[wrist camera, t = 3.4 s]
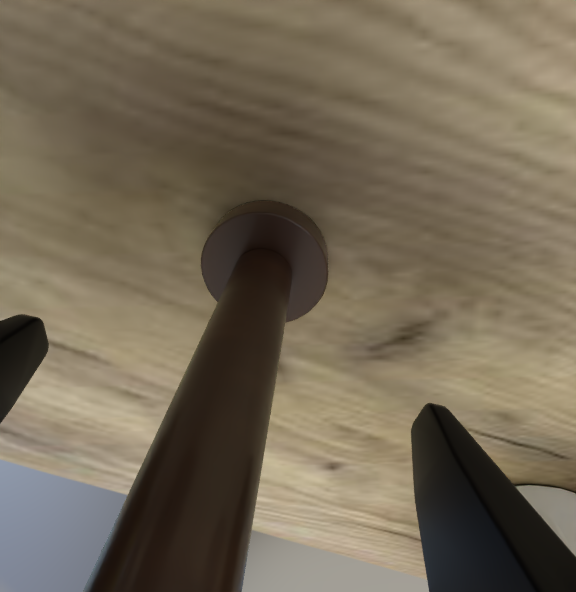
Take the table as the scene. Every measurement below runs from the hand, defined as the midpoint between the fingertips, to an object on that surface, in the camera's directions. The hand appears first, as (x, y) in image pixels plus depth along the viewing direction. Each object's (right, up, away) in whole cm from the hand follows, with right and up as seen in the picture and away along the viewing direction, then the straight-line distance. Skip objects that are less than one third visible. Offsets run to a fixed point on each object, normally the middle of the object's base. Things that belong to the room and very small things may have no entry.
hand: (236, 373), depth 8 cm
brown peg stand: (+1, +3, +5) cm, 6 cm away
